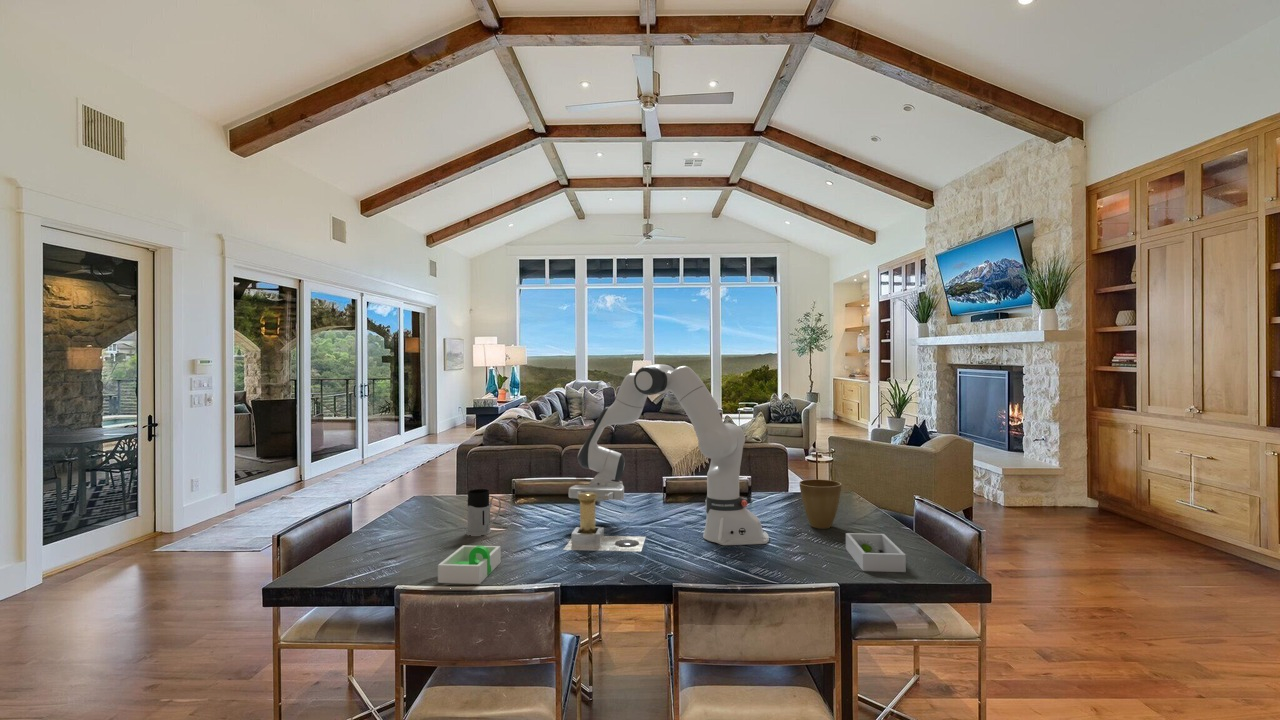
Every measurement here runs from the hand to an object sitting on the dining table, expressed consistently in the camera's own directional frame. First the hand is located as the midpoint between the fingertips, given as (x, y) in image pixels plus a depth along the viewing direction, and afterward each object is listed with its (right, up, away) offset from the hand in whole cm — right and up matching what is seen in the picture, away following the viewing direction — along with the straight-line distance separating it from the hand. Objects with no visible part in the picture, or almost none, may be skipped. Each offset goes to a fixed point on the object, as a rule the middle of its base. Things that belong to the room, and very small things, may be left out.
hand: (593, 497), depth 214 cm
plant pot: (+83, -13, +10) cm, 85 cm away
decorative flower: (+88, -13, -29) cm, 93 cm away
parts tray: (-33, -14, -35) cm, 50 cm away
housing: (+5, -14, -13) cm, 19 cm away
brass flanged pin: (-1, -12, -12) cm, 17 cm away
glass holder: (-39, -14, +5) cm, 42 cm away
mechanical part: (-33, -14, -35) cm, 50 cm away
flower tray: (+88, -13, -27) cm, 93 cm away
